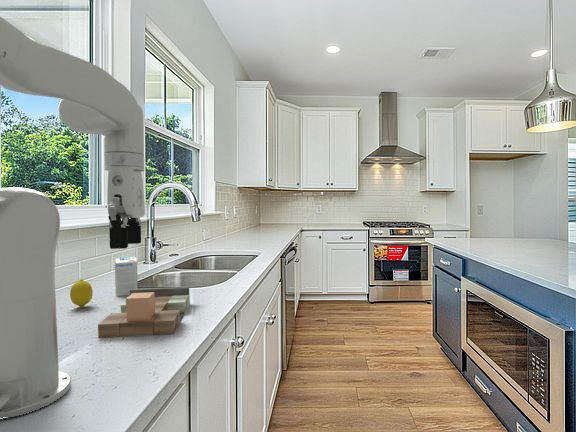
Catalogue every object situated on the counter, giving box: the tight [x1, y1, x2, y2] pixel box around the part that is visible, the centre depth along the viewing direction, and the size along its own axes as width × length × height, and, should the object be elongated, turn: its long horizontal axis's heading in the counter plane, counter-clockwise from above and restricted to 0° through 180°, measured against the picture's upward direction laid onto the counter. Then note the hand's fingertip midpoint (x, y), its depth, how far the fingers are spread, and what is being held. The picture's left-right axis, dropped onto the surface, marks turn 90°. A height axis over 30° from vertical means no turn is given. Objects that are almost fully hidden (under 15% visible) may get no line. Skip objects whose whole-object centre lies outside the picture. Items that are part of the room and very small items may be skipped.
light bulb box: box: [114, 256, 139, 297], centre depth 121 cm, size 11×7×11 cm, turn 25°
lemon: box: [69, 279, 94, 308], centre depth 103 cm, size 6×6×8 cm
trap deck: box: [97, 286, 191, 339], centre depth 92 cm, size 24×16×5 cm, turn 7°
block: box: [125, 292, 155, 321], centre depth 84 cm, size 5×5×5 cm
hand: (126, 245), depth 76 cm, fingers open, 9 cm apart
